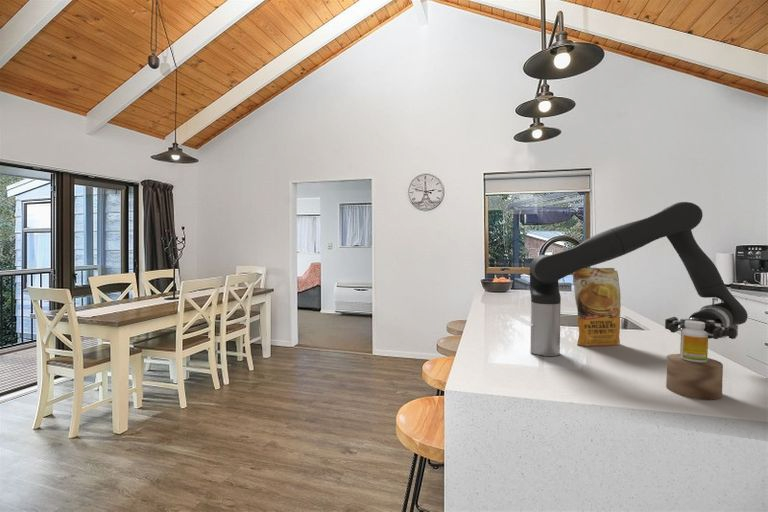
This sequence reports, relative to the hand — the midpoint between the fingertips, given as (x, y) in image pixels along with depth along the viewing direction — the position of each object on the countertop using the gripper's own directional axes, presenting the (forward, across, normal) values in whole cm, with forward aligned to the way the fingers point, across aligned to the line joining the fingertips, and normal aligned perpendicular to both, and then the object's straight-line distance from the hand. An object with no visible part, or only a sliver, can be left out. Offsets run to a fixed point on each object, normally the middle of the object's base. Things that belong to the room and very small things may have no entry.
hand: (693, 331), depth 96 cm
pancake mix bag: (-29, -34, +16) cm, 48 cm away
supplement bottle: (-2, 0, +8) cm, 8 cm away
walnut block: (-2, 0, +16) cm, 16 cm away
